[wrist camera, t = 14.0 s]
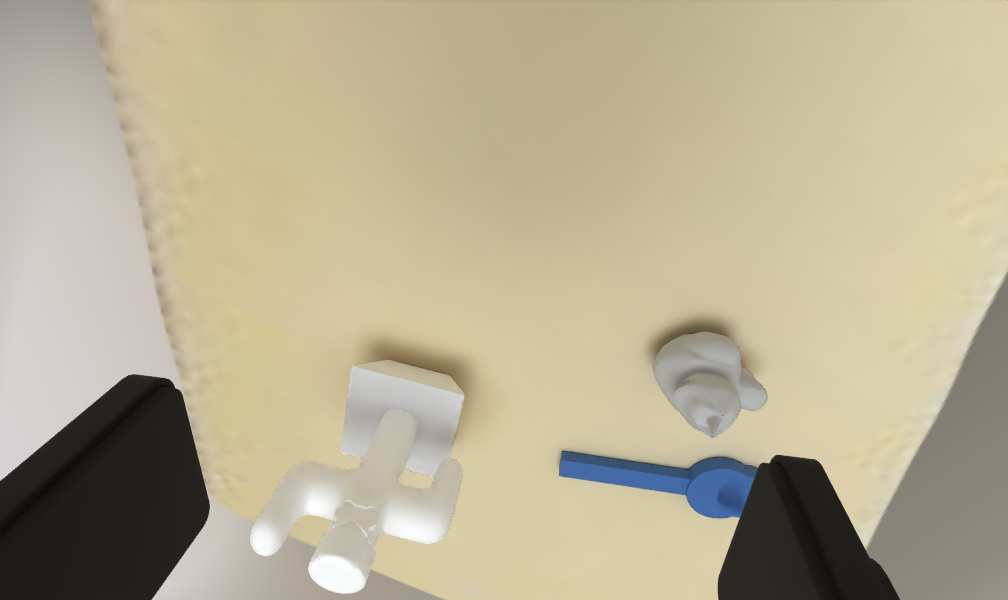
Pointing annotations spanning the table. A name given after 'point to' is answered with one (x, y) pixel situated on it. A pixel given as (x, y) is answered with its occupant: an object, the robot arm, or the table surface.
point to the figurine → (374, 474)
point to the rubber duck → (707, 381)
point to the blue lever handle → (672, 480)
